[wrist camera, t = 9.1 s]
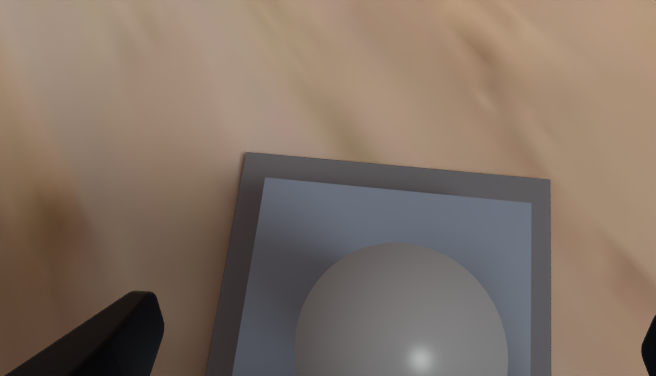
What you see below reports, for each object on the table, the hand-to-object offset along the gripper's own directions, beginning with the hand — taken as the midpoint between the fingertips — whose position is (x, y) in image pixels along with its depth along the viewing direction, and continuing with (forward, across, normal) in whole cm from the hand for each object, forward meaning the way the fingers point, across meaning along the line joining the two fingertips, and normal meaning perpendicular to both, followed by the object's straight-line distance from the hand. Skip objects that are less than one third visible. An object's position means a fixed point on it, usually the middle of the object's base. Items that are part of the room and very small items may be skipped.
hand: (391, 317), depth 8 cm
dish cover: (+6, 0, +6) cm, 8 cm away
